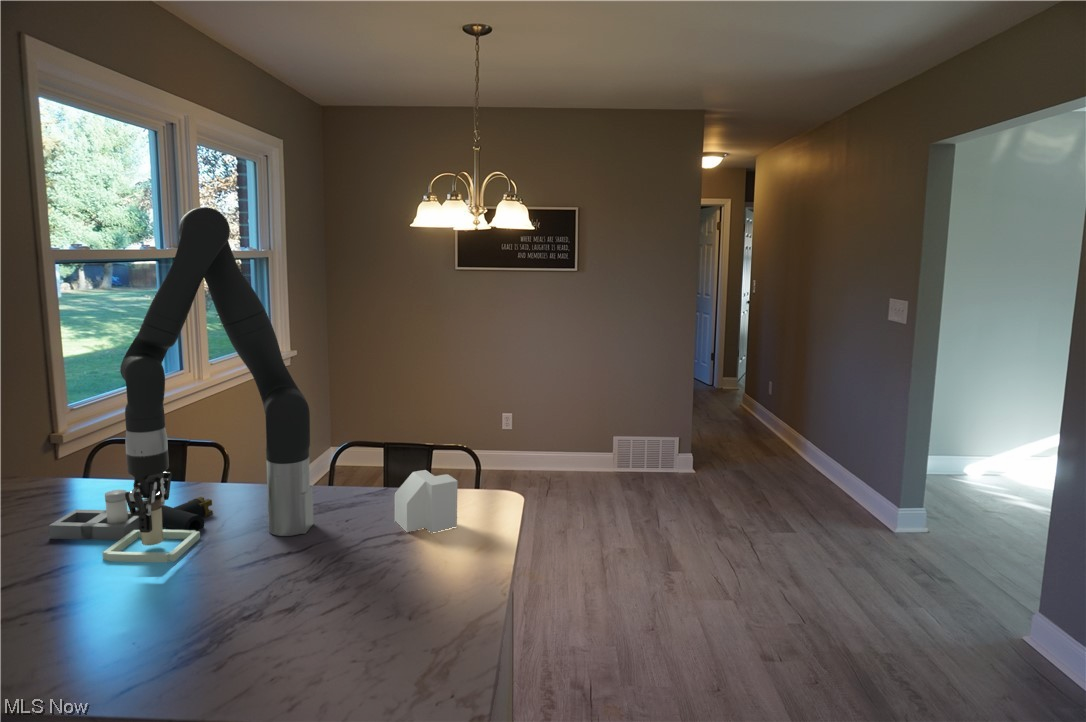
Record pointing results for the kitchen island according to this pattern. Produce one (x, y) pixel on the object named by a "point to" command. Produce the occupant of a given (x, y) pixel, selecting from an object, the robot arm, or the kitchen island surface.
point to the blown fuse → (154, 525)
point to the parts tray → (116, 555)
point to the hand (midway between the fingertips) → (152, 526)
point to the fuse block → (91, 526)
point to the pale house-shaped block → (427, 502)
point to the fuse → (116, 507)
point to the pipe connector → (187, 515)
